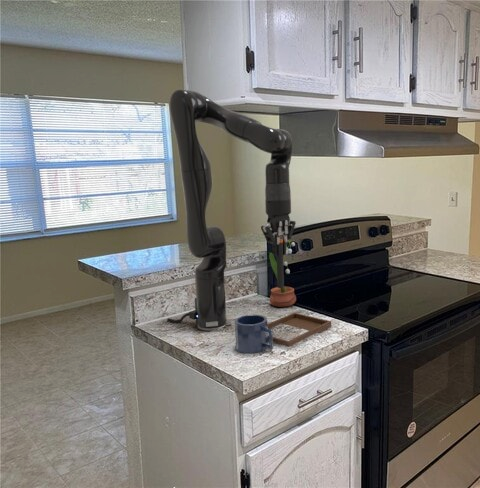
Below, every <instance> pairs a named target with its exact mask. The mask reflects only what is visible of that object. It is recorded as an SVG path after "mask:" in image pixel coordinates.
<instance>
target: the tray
mask: <svg viewBox="0 0 480 488" xmlns="http://www.w3.org/2000/svg"><path fill="white" fill-rule="evenodd" d="M279 325H285V326H289V327H294V328H298V329H302V330H305V331H306V332H303V333H301V334H299V335H297V336H296V337H293V338H292V339H289V340H286V339H282V338H279V337H275V336H273V344H277V345H280V346H284V347H287V348H290V347H292V346H294V345H296V344H298V343H300V342H302V341H304V340H306V339H307V338H309V337H312V336H313V335H315V334H321V333H323V332H324V331H327V330H328V329H330V328H332V320H327V319H323V318H319V317H316V316H315V317H314V316H310V315H307V314H302V313H299V312H291V313H289V314H288V315H285V316H283V317H281V318H278V319H276V320H274V321H271V322H269V323H267V328H269V329H272V328H275V327H276V326H279ZM268 342H269V334H268Z"/></svg>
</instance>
